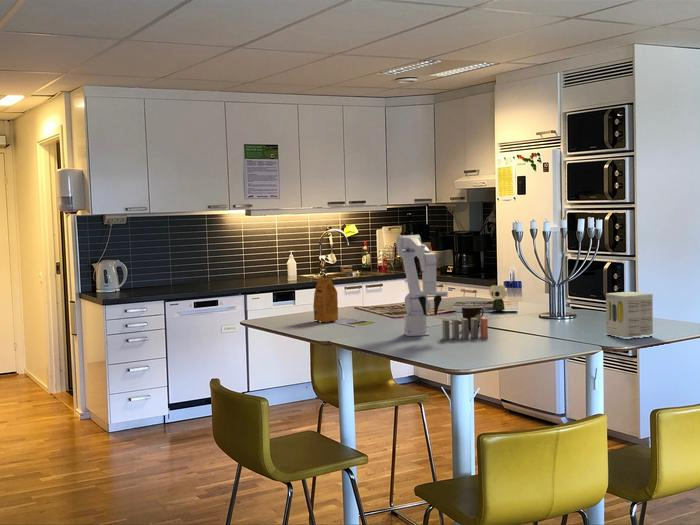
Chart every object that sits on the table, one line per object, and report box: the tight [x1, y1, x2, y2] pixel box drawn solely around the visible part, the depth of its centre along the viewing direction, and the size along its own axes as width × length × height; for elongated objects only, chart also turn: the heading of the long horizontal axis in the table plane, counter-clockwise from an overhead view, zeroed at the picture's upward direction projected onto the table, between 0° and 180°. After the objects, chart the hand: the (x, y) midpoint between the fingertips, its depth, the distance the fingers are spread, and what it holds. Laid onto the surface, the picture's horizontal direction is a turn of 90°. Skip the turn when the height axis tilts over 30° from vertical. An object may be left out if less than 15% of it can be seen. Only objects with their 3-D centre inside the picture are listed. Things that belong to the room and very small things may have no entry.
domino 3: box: [470, 318, 479, 340], centre depth 348 cm, size 2×5×8 cm, turn 6°
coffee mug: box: [461, 305, 485, 331], centre depth 371 cm, size 12×9×10 cm
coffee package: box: [312, 275, 339, 323], centre depth 409 cm, size 10×12×22 cm
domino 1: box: [451, 318, 460, 341], centre depth 347 cm, size 2×5×8 cm, turn 6°
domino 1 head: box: [442, 318, 451, 341], centre depth 347 cm, size 2×5×8 cm, turn 6°
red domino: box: [479, 316, 489, 339], centre depth 348 cm, size 2×5×8 cm, turn 6°
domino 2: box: [460, 317, 470, 340], centre depth 348 cm, size 2×5×8 cm, turn 6°
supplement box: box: [605, 291, 654, 337], centre depth 339 cm, size 13×13×18 cm
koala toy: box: [489, 285, 508, 312], centre depth 427 cm, size 11×7×13 cm, turn 42°
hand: (430, 314), depth 346 cm, fingers open, 4 cm apart
